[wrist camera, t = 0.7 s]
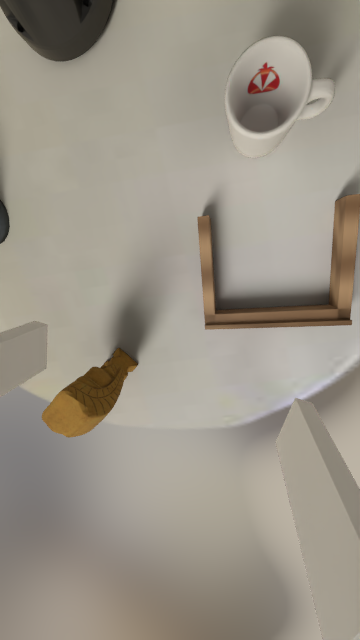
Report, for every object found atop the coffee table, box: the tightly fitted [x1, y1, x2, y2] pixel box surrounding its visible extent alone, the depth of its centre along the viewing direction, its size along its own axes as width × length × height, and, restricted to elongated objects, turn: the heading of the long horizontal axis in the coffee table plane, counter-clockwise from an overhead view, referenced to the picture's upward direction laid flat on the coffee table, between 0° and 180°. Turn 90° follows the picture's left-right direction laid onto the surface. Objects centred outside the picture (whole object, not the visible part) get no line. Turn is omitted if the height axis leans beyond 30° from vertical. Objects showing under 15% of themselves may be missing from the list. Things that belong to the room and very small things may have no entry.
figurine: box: [42, 348, 138, 437], centre depth 36 cm, size 7×6×15 cm
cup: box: [224, 36, 335, 158], centre depth 25 cm, size 11×8×8 cm
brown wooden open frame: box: [198, 194, 360, 329], centre depth 32 cm, size 16×19×4 cm
